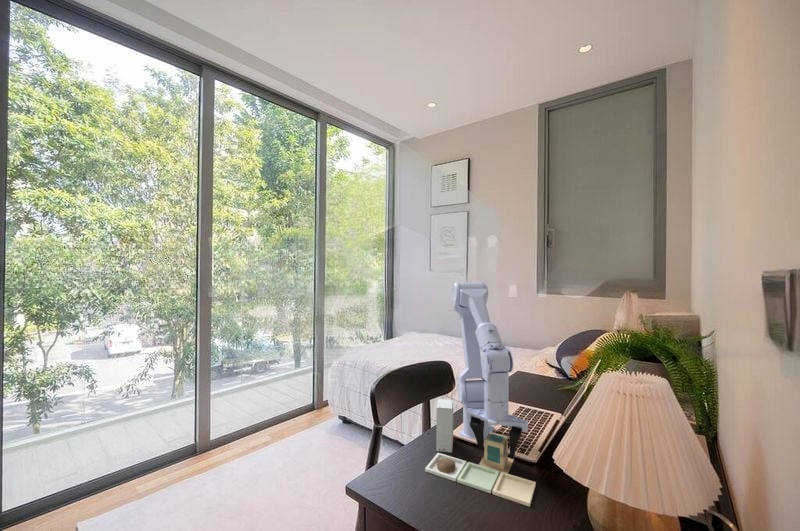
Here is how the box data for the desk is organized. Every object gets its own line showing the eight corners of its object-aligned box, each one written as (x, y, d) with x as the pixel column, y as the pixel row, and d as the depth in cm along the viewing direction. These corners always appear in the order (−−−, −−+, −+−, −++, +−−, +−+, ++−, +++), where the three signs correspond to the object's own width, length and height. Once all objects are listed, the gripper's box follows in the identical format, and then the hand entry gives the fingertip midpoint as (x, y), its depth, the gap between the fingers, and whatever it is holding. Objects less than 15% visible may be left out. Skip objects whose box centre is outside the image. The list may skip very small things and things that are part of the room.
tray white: (438, 457, 89) (438, 452, 89) (466, 466, 85) (466, 461, 85) (425, 473, 82) (425, 468, 82) (455, 483, 78) (455, 478, 78)
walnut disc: (441, 460, 86) (441, 456, 86) (458, 465, 84) (458, 461, 84) (434, 469, 83) (434, 465, 83) (451, 475, 80) (451, 471, 80)
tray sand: (501, 476, 81) (501, 471, 81) (535, 487, 77) (535, 482, 77) (492, 496, 74) (492, 490, 74) (529, 509, 70) (529, 503, 70)
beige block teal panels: (489, 455, 88) (489, 431, 88) (507, 460, 86) (507, 436, 86) (484, 464, 84) (484, 439, 84) (502, 470, 82) (502, 444, 82)
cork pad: (486, 453, 90) (486, 451, 90) (513, 461, 87) (513, 458, 87) (478, 467, 84) (478, 465, 84) (507, 476, 81) (507, 474, 81)
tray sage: (468, 466, 85) (468, 461, 85) (499, 476, 81) (499, 471, 81) (456, 484, 78) (457, 479, 78) (490, 495, 74) (490, 490, 74)
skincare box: (452, 454, 90) (452, 408, 90) (436, 452, 91) (436, 407, 90) (453, 442, 96) (453, 399, 95) (438, 440, 97) (438, 398, 96)
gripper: (462, 397, 85) (462, 452, 85) (524, 410, 78) (523, 470, 78) (471, 388, 91) (471, 439, 92) (529, 399, 84) (529, 454, 84)
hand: (496, 452), depth 85 cm, fingers open, 7 cm apart
